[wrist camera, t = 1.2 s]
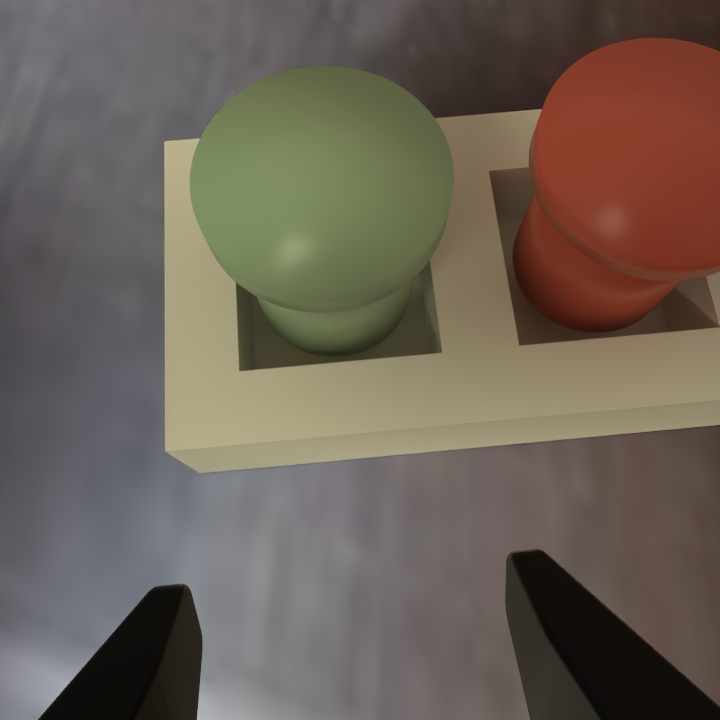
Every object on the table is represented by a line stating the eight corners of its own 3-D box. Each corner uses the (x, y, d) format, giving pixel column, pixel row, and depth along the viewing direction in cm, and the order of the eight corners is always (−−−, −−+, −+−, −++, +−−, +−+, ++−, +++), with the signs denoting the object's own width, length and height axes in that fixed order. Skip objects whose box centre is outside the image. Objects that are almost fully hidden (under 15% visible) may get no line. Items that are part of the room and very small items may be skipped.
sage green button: (442, 366, 20) (471, 282, 14) (242, 384, 20) (191, 307, 14) (419, 191, 22) (436, 55, 16) (235, 207, 22) (187, 76, 16)
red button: (707, 342, 20) (840, 249, 15) (509, 360, 20) (564, 273, 14) (662, 169, 22) (763, 28, 16) (480, 186, 22) (518, 48, 16)
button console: (974, 401, 23) (1096, 364, 19) (200, 473, 22) (165, 451, 18) (877, 147, 26) (965, 72, 22) (195, 206, 25) (164, 141, 22)
